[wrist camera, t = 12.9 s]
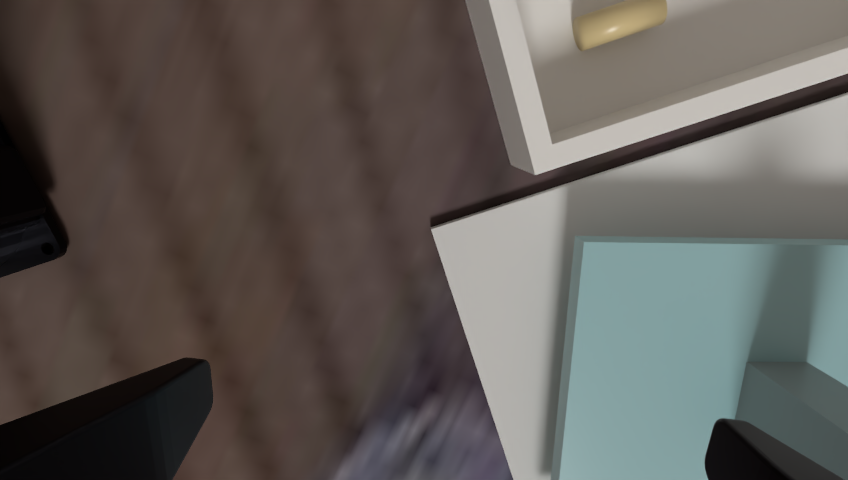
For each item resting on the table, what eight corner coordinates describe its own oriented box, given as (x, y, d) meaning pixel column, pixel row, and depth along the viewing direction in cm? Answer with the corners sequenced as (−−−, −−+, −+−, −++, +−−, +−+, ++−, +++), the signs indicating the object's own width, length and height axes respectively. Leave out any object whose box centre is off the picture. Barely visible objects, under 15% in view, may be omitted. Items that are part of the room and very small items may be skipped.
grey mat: (554, 604, 26) (557, 611, 25) (430, 227, 20) (431, 229, 20) (963, 489, 25) (972, 495, 24) (943, 61, 19) (953, 60, 19)
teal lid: (537, 499, 23) (620, 743, 14) (562, 227, 20) (692, 316, 11) (866, 497, 24) (1150, 731, 15) (943, 232, 21) (1371, 321, 11)
